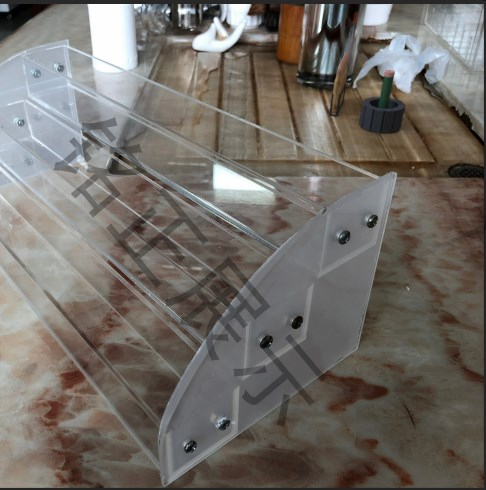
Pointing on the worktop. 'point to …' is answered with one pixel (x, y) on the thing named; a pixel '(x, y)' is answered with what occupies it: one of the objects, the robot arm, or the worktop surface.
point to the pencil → (386, 89)
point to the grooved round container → (381, 115)
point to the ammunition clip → (339, 87)
